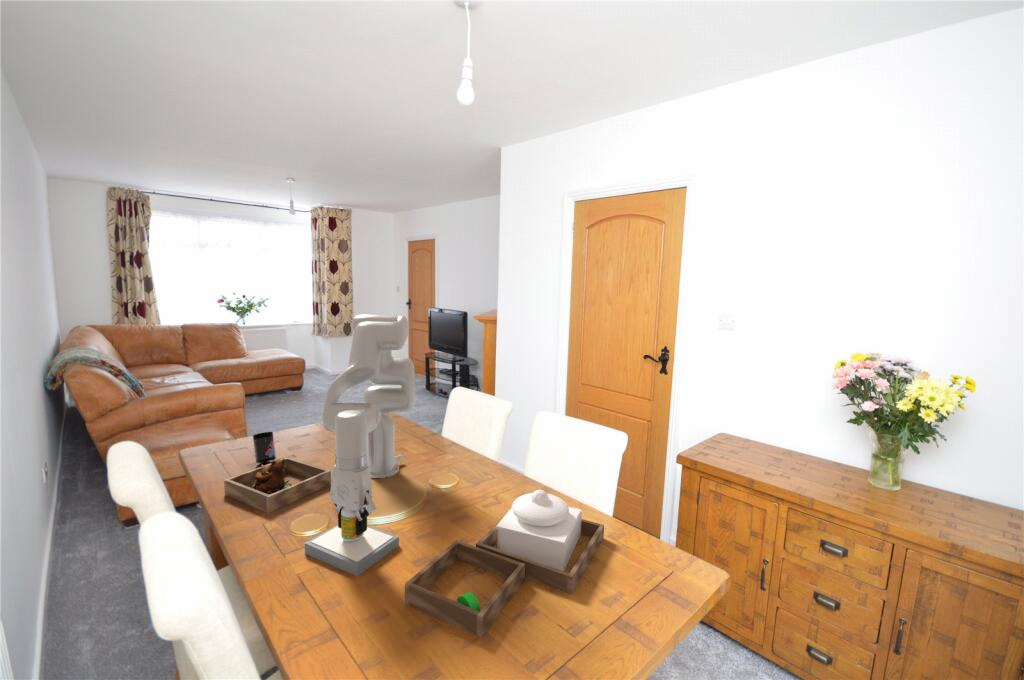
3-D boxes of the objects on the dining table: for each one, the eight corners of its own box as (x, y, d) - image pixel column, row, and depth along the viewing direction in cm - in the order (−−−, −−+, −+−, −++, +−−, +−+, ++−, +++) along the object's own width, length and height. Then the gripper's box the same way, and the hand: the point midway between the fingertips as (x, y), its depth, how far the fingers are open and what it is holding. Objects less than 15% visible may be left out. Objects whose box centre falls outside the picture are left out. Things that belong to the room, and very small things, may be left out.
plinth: (349, 528, 124) (348, 517, 124) (398, 547, 116) (398, 536, 115) (304, 554, 112) (304, 542, 111) (357, 577, 103) (357, 565, 103)
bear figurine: (286, 479, 154) (285, 445, 152) (299, 495, 142) (298, 459, 141) (240, 490, 145) (239, 454, 143) (250, 508, 133) (248, 469, 132)
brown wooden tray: (288, 470, 160) (287, 457, 159) (330, 484, 150) (330, 470, 149) (224, 495, 141) (224, 479, 140) (269, 513, 131) (268, 497, 130)
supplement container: (263, 461, 160) (259, 432, 162) (251, 465, 163) (248, 436, 165) (280, 458, 166) (277, 430, 168) (269, 462, 169) (265, 434, 171)
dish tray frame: (520, 518, 132) (521, 502, 132) (603, 542, 121) (604, 525, 120) (475, 563, 110) (475, 544, 110) (571, 598, 99) (572, 577, 98)
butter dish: (580, 538, 123) (583, 483, 121) (563, 577, 106) (566, 514, 104) (520, 524, 129) (522, 472, 127) (495, 559, 112) (497, 499, 111)
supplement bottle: (338, 542, 110) (337, 505, 109) (344, 530, 116) (344, 494, 115) (361, 541, 111) (360, 504, 110) (366, 529, 116) (365, 494, 115)
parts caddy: (456, 558, 112) (456, 540, 111) (524, 584, 103) (525, 564, 102) (404, 605, 95) (404, 583, 94) (481, 640, 86) (481, 617, 86)
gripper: (315, 458, 111) (316, 526, 114) (365, 473, 104) (366, 546, 106) (339, 449, 118) (340, 513, 120) (388, 462, 110) (388, 531, 113)
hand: (352, 528), depth 113 cm, fingers closed on supplement bottle, 5 cm apart
